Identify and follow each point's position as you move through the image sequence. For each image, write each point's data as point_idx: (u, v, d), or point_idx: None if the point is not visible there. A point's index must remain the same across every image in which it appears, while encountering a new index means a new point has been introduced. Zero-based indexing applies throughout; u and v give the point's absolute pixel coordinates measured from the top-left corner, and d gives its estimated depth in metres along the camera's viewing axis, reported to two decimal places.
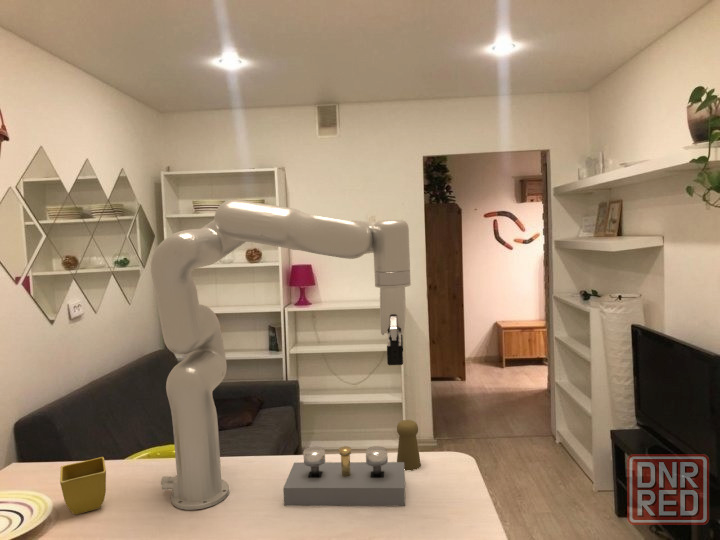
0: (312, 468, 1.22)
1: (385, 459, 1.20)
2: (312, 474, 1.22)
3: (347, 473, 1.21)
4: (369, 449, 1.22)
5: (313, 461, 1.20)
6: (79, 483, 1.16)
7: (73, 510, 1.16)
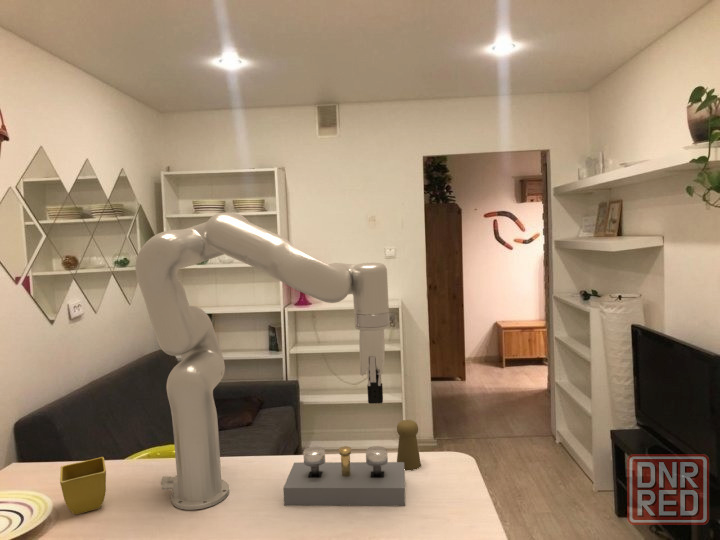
0: (312, 468, 1.22)
1: (385, 459, 1.20)
2: (312, 474, 1.22)
3: (347, 473, 1.21)
4: (369, 449, 1.22)
5: (313, 461, 1.20)
6: (79, 483, 1.16)
7: (73, 510, 1.16)
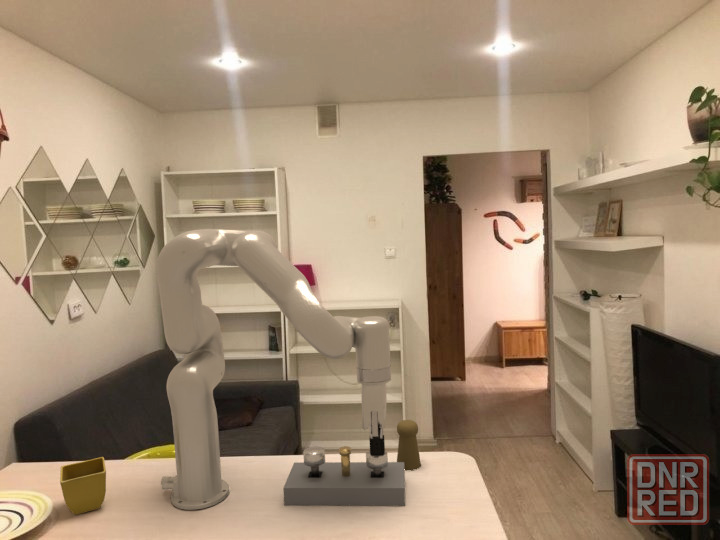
0: (312, 468, 1.22)
1: (385, 462, 1.20)
2: (312, 474, 1.22)
3: (347, 473, 1.21)
4: (369, 452, 1.22)
5: (313, 461, 1.20)
6: (79, 483, 1.16)
7: (73, 510, 1.16)
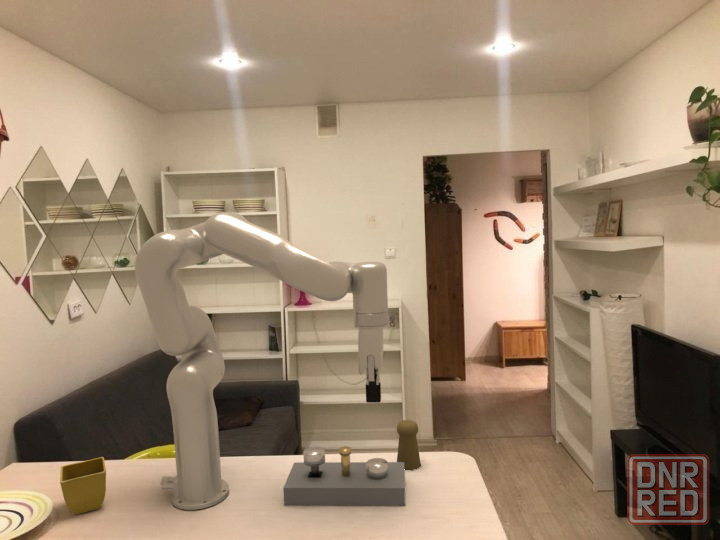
0: (312, 468, 1.22)
1: (385, 471, 1.20)
2: (312, 474, 1.22)
3: (347, 473, 1.21)
4: (369, 461, 1.22)
5: (313, 461, 1.20)
6: (79, 483, 1.16)
7: (73, 510, 1.16)
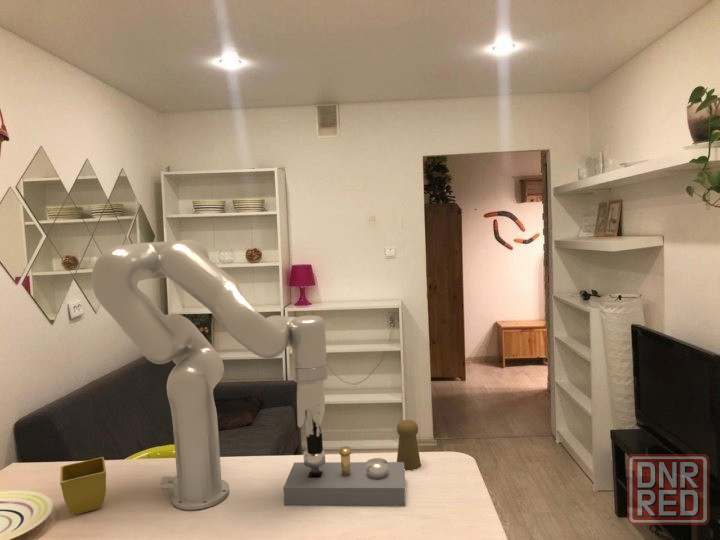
0: (312, 469, 1.22)
1: (385, 471, 1.20)
2: (312, 475, 1.22)
3: (347, 473, 1.21)
4: (369, 461, 1.22)
5: (313, 462, 1.20)
6: (79, 483, 1.16)
7: (73, 510, 1.16)
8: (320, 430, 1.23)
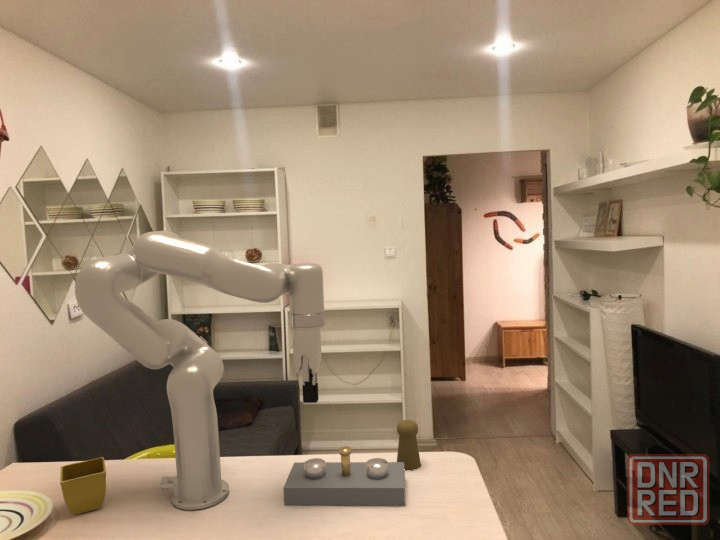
0: None
1: (385, 471, 1.20)
2: None
3: (347, 473, 1.21)
4: (369, 461, 1.22)
5: (314, 473, 1.21)
6: (79, 483, 1.16)
7: (73, 510, 1.16)
8: (316, 379, 1.21)
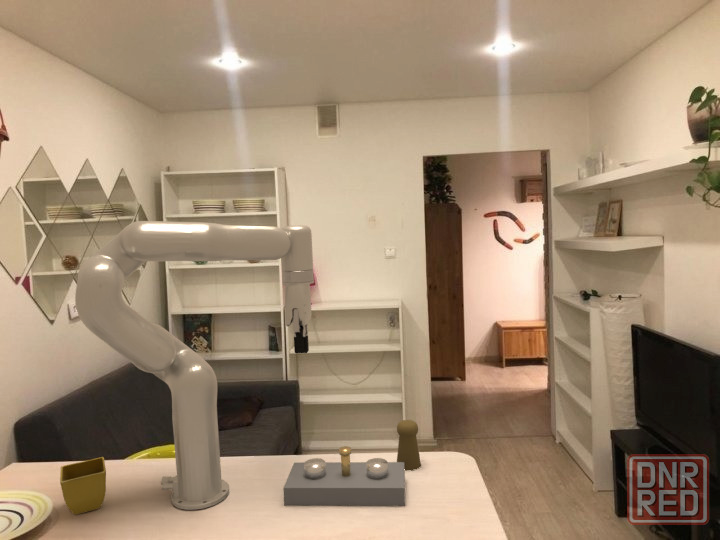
0: None
1: (385, 471, 1.20)
2: None
3: (347, 473, 1.21)
4: (369, 461, 1.22)
5: (314, 473, 1.21)
6: (79, 483, 1.16)
7: (73, 510, 1.16)
8: (306, 332, 1.33)
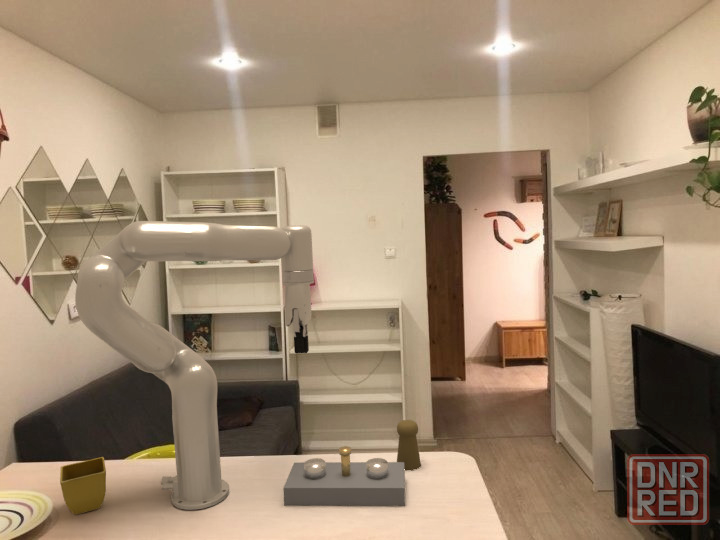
0: None
1: (385, 471, 1.20)
2: None
3: (347, 473, 1.21)
4: (369, 461, 1.22)
5: (314, 473, 1.21)
6: (79, 483, 1.16)
7: (73, 510, 1.16)
8: (306, 332, 1.33)
